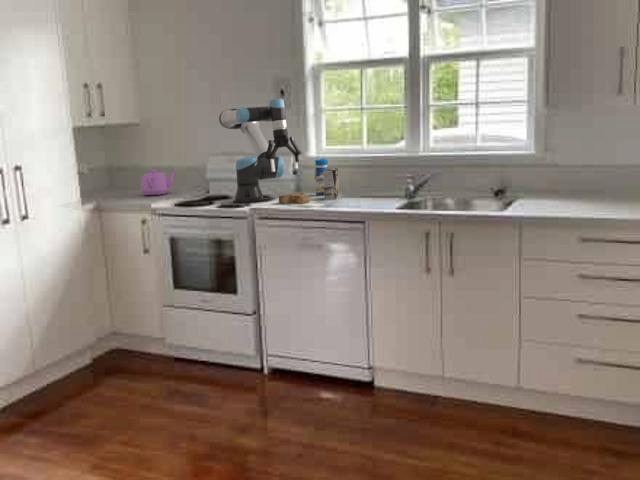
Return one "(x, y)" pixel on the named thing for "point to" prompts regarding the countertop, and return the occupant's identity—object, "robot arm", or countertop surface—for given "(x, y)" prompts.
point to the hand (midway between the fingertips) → (284, 170)
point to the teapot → (156, 183)
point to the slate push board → (308, 205)
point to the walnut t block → (294, 198)
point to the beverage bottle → (320, 175)
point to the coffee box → (331, 184)
